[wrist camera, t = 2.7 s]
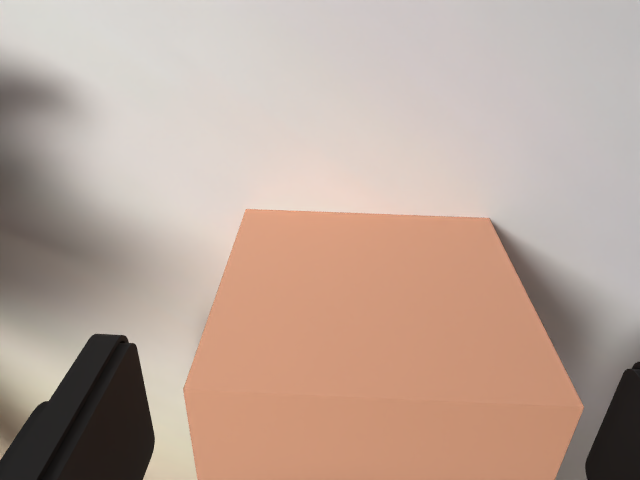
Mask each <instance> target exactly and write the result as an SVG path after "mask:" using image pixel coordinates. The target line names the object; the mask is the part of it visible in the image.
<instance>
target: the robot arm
mask: <svg viewBox="0 0 640 480" xmlns="http://www.w3.org/2000/svg"><path fill="white" fill-rule="evenodd" d="M154 442H155V437H154V431H153V426H152V421H151V416H150V411H149V406H148V401H147V396H146V391H145V386H144V381H143V376H142V371H141V366H140V361H139V356H138V351H137V347H136V345H135V344H134V343H129V342H128V339H127V337H126V336H124V335H109V334H94V335H92V336H91V338H90V339H89V340H88V342H87V343H86V345H85V346H84V348H83V349H82V351H81V352H80V354H79V355H78V357H77V359H76V360H75V362H74V363H73V365H72V366H71V368H70V369H69V371H68V372H67V374H66V375H65V377H64V379H63V380H62V382H61V383H60V385H59V386H58V388H57V389H56V391H55V392H54V394H53V395H52V397H51V399H50V400H49V401H45V402H43V403H41V404H40V405H38V406H37V408H36V409H35V410H34V411H33V412H32V414H31V415H30V417H29V418H28V420H27V421H26V423H25V424H24V426H23V427H22V429H21V430H20V432H19V433H18V435H17V436H16V438H15V439H14V441H13V442H12V444H11V445H10V447H9V448H8V450H7V451H6V453H5V454H4V456H3V457H2V459H1V460H0V480H143V477H144V475H145V472H146V470H147V467H148V464H149V462H150V459H151V456H152V453H153V449H154ZM585 469H586V476H587V479H588V480H640V362H637V363H635V364H634V366H633V367H632V369H627V370H625V372H624V373H623V375H622V378H621V380H620V382H619V385H618V387H617V389H616V392H615V394H614V396H613V399H612V401H611V403H610V406H609V408H608V410H607V413H606V415H605V417H604V420H603V422H602V424H601V427H600V429H599V431H598V434H597V436H596V438H595V441H594V443H593V445H592V448H591V450H590V452H589V455H588V457H587V460H586V465H585Z"/></svg>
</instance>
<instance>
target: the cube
mask: <svg viewBox="0 0 640 480" xmlns="http://www.w3.org/2000/svg"><path fill="white" fill-rule="evenodd" d="M183 391H184V397H185V403H186V410H187V416H188V422H189V428H190V435H191V441H192V447H193V453H194V460H195V466H196V472H197V478H198V480H555V478H556V475H557V473H558V470H559V468H560V465H561V463H562V461H563V458H564V456H565V453H566V451H567V448H568V446H569V443H570V441H571V438H572V436H573V434H574V431H575V429H576V426H577V424H578V421H579V419H580V416H581V414H582V411H583V409H584V406H583V404H582V402H581V400H580V398H579V396H578V394H577V392H576V390H575V388H574V386H573V384H572V382H571V380H570V378H569V376H568V374H567V372H566V370H565V368H564V366H563V364H562V362H561V360H560V358H559V356H558V354H557V352H556V350H555V348H554V346H553V344H552V342H551V340H550V338H549V336H548V334H547V332H546V330H545V328H544V326H543V324H542V322H541V320H540V319H539V317H538V315H537V313H536V311H535V309H534V307H533V305H532V303H531V301H530V299H529V297H528V295H527V293H526V291H525V289H524V287H523V285H522V283H521V281H520V279H519V277H518V275H517V273H516V271H515V269H514V267H513V265H512V263H511V261H510V259H509V257H508V255H507V253H506V251H505V249H504V247H503V245H502V243H501V241H500V239H499V237H498V235H497V233H496V231H495V229H494V227H493V225H492V223H491V221H490V219H489V218H472V217H445V216H418V215H391V214H365V213H338V212H311V211H284V210H258V209H246V210H245V213H244V216H243V219H242V222H241V225H240V228H239V231H238V233H237V236H236V239H235V242H234V245H233V248H232V251H231V254H230V256H229V259H228V262H227V265H226V268H225V271H224V274H223V277H222V279H221V282H220V285H219V288H218V291H217V294H216V297H215V300H214V302H213V305H212V308H211V311H210V314H209V317H208V320H207V323H206V325H205V328H204V331H203V334H202V337H201V340H200V343H199V346H198V348H197V351H196V354H195V357H194V360H193V363H192V366H191V369H190V371H189V374H188V377H187V380H186V383H185V386H184V389H183Z"/></svg>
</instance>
